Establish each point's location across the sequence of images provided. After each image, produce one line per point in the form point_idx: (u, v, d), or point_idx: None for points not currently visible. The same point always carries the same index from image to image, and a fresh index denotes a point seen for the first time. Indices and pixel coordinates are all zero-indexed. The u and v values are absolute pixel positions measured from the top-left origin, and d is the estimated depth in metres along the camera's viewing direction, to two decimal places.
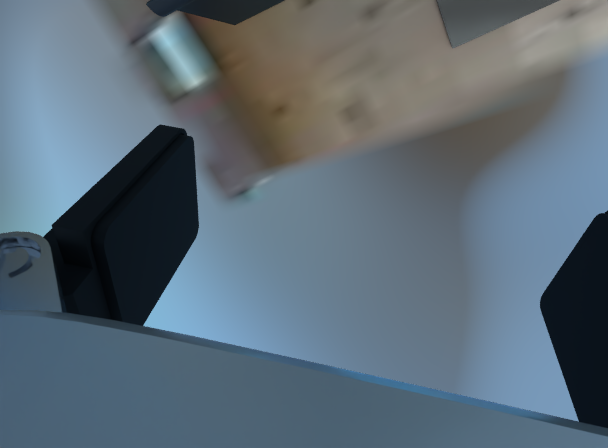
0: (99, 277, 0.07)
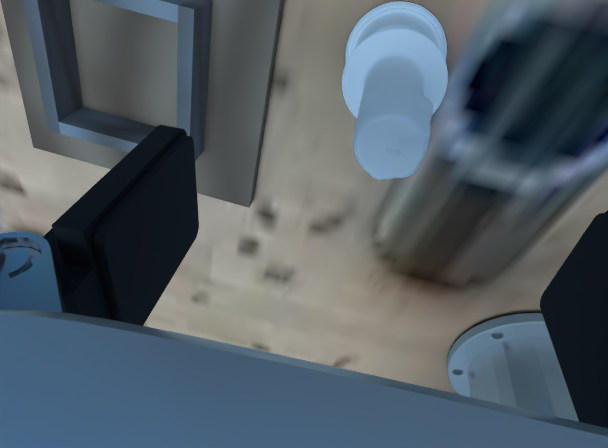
0: (99, 277, 0.07)
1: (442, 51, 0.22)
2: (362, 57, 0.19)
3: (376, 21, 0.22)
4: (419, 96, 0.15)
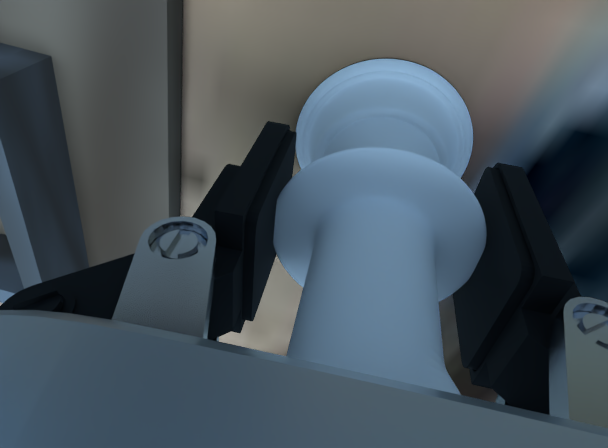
0: (243, 259, 0.08)
1: (465, 144, 0.12)
2: (307, 197, 0.09)
3: (344, 93, 0.12)
4: None
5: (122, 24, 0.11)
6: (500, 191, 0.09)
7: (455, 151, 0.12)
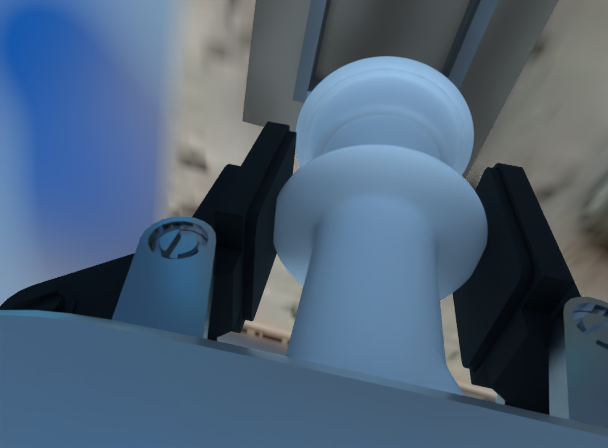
0: (243, 259, 0.08)
1: (465, 142, 0.12)
2: (307, 194, 0.09)
3: (344, 91, 0.12)
4: None
5: None
6: (500, 191, 0.09)
7: (456, 149, 0.12)
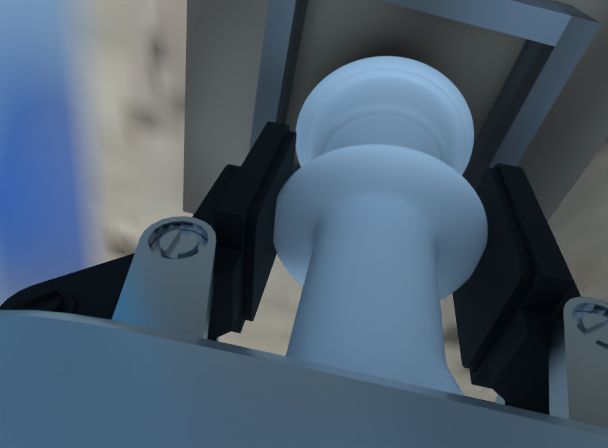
0: (243, 259, 0.08)
1: (466, 142, 0.12)
2: (307, 194, 0.09)
3: (344, 90, 0.12)
4: None
5: None
6: (500, 191, 0.09)
7: (456, 149, 0.12)
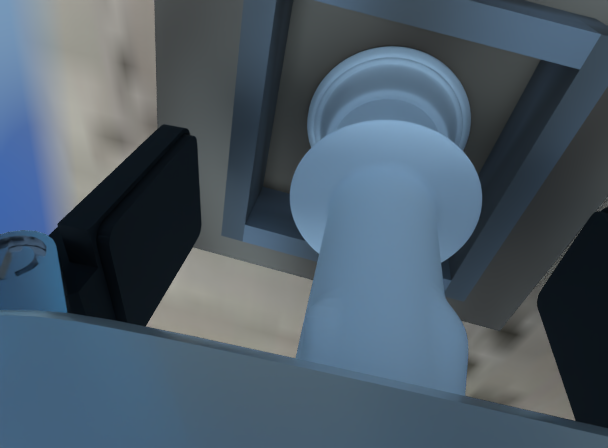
0: (104, 276, 0.07)
1: (463, 125, 0.13)
2: (323, 166, 0.10)
3: (353, 78, 0.13)
4: (436, 317, 0.07)
5: None
6: None
7: (454, 132, 0.13)
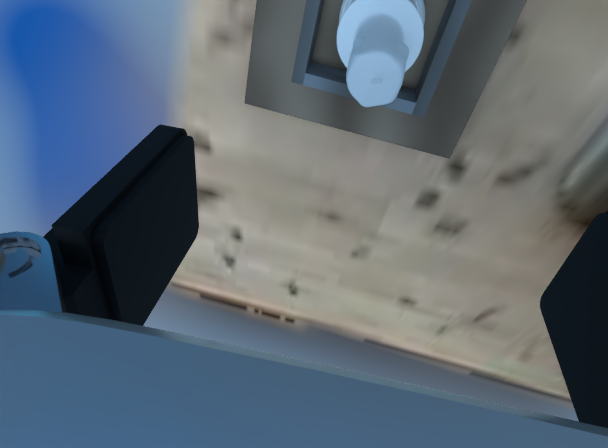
0: (99, 277, 0.07)
1: (421, 15, 0.26)
2: (353, 16, 0.23)
3: None
4: (398, 42, 0.19)
5: None
6: None
7: None
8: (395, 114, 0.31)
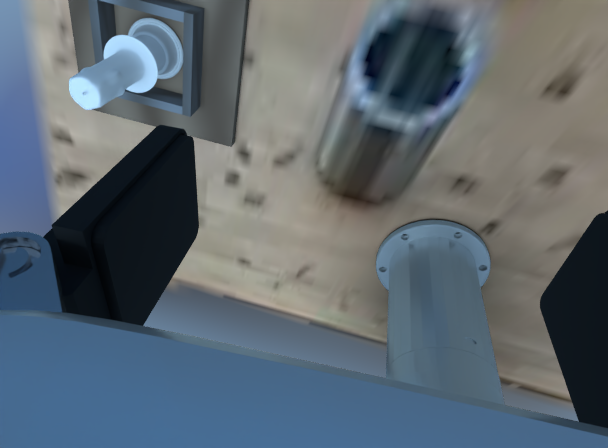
0: (99, 277, 0.07)
1: (178, 46, 0.38)
2: (109, 50, 0.35)
3: (137, 29, 0.38)
4: (110, 69, 0.31)
5: None
6: None
7: (175, 48, 0.38)
8: None
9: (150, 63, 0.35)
